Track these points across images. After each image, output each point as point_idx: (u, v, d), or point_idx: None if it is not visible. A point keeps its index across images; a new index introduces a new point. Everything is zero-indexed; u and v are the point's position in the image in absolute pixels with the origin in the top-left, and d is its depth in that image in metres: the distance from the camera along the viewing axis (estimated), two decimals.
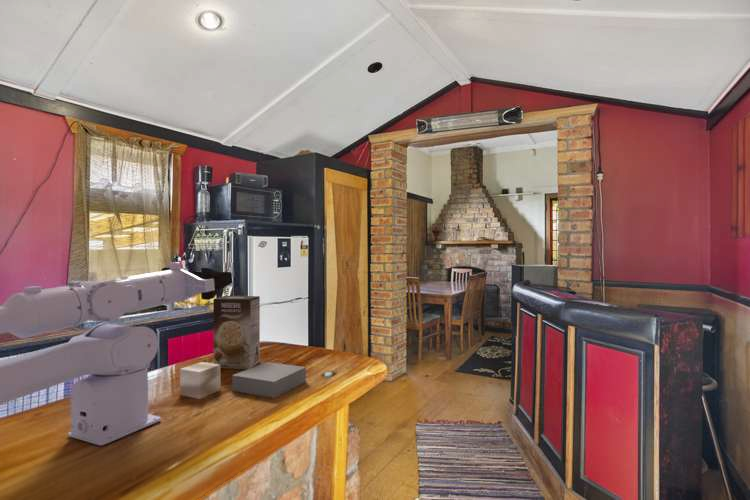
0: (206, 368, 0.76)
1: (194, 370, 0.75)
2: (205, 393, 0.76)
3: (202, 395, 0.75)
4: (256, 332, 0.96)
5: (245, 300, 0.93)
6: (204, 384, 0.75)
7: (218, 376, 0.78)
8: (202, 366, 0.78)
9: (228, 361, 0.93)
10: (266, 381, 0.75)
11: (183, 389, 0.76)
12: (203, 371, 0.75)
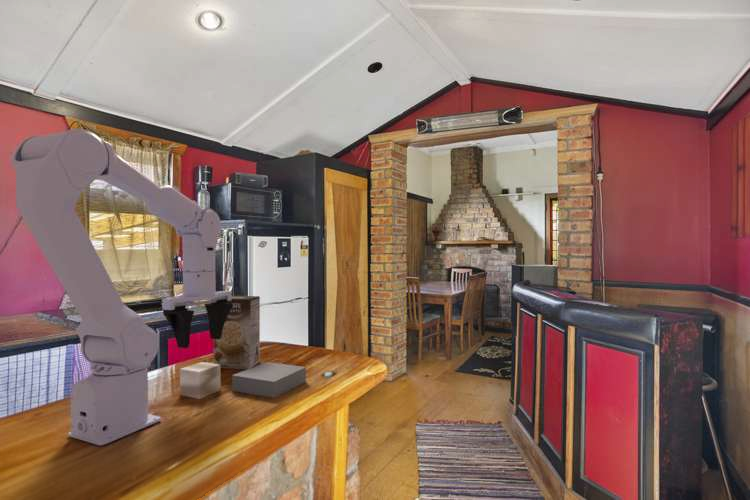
0: (206, 368, 0.76)
1: (194, 370, 0.75)
2: (205, 393, 0.76)
3: (202, 395, 0.75)
4: (256, 332, 0.96)
5: (245, 300, 0.93)
6: (204, 384, 0.75)
7: (218, 376, 0.78)
8: (202, 366, 0.78)
9: (228, 361, 0.93)
10: (266, 381, 0.75)
11: (183, 389, 0.76)
12: (203, 371, 0.75)
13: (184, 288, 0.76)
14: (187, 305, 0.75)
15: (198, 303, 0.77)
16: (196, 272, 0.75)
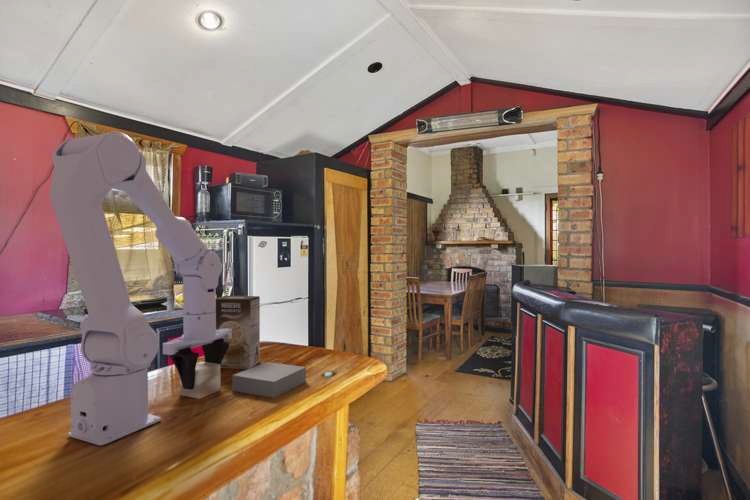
0: (206, 367, 0.76)
1: None
2: (205, 392, 0.76)
3: (202, 394, 0.75)
4: (256, 332, 0.96)
5: (245, 300, 0.93)
6: (204, 383, 0.75)
7: (218, 375, 0.78)
8: (202, 365, 0.78)
9: (228, 361, 0.93)
10: (266, 381, 0.75)
11: (183, 389, 0.76)
12: (203, 370, 0.75)
13: (185, 330, 0.76)
14: (188, 348, 0.75)
15: (199, 344, 0.77)
16: (197, 314, 0.75)
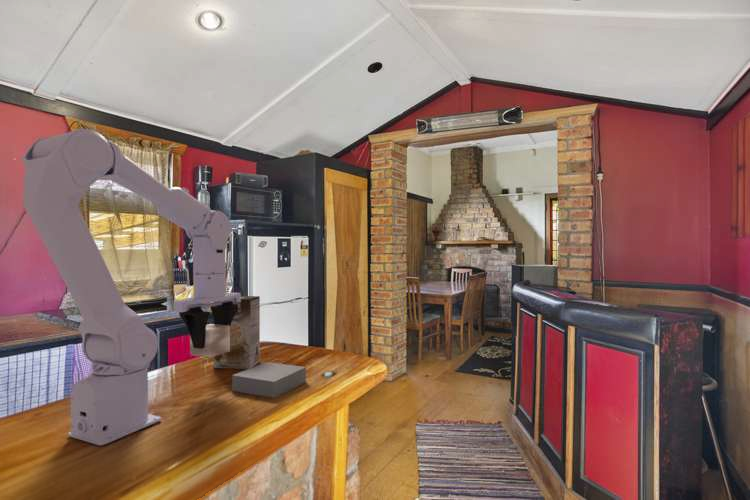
0: (216, 328, 0.77)
1: None
2: (215, 352, 0.76)
3: (212, 354, 0.75)
4: (256, 332, 0.96)
5: (245, 300, 0.93)
6: (214, 343, 0.76)
7: (228, 336, 0.79)
8: (212, 326, 0.78)
9: (228, 361, 0.93)
10: (266, 381, 0.75)
11: (193, 349, 0.77)
12: (213, 330, 0.76)
13: (195, 290, 0.76)
14: None
15: (208, 305, 0.78)
16: (207, 274, 0.75)
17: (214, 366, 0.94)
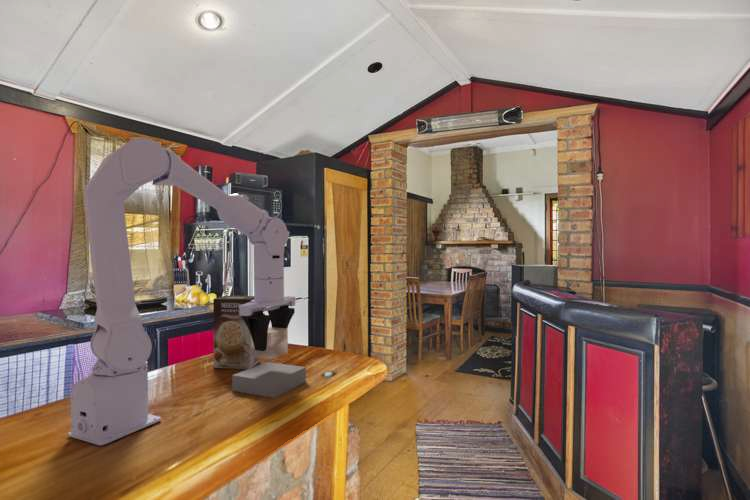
0: (276, 330, 0.80)
1: None
2: (276, 354, 0.79)
3: (273, 356, 0.78)
4: None
5: (245, 300, 0.93)
6: (275, 345, 0.79)
7: (286, 339, 0.82)
8: (271, 329, 0.81)
9: (228, 361, 0.93)
10: (266, 381, 0.75)
11: (254, 351, 0.79)
12: (274, 333, 0.78)
13: (256, 294, 0.79)
14: (260, 311, 0.78)
15: (268, 309, 0.80)
16: (268, 279, 0.78)
17: (214, 366, 0.94)
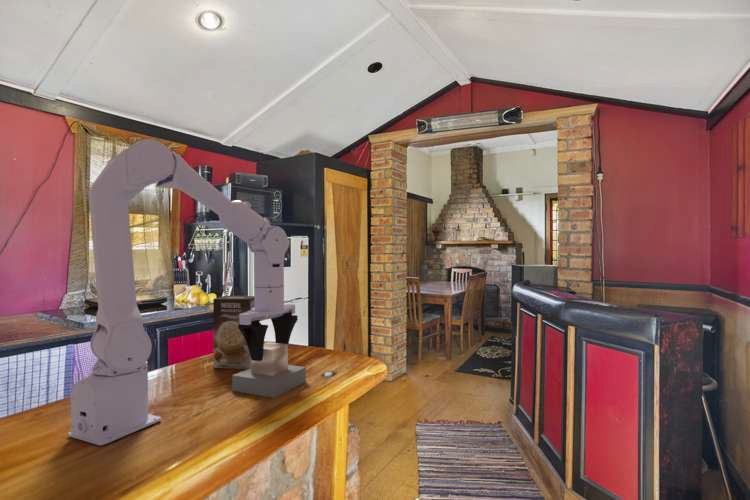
0: (276, 347, 0.80)
1: (266, 348, 0.78)
2: (276, 370, 0.79)
3: (274, 372, 0.78)
4: None
5: (245, 300, 0.93)
6: (275, 362, 0.79)
7: (286, 355, 0.82)
8: (271, 345, 0.81)
9: (228, 361, 0.93)
10: (266, 381, 0.75)
11: (254, 367, 0.79)
12: (274, 349, 0.78)
13: (256, 303, 0.79)
14: (260, 319, 0.78)
15: (268, 317, 0.80)
16: (268, 288, 0.78)
17: (214, 366, 0.94)
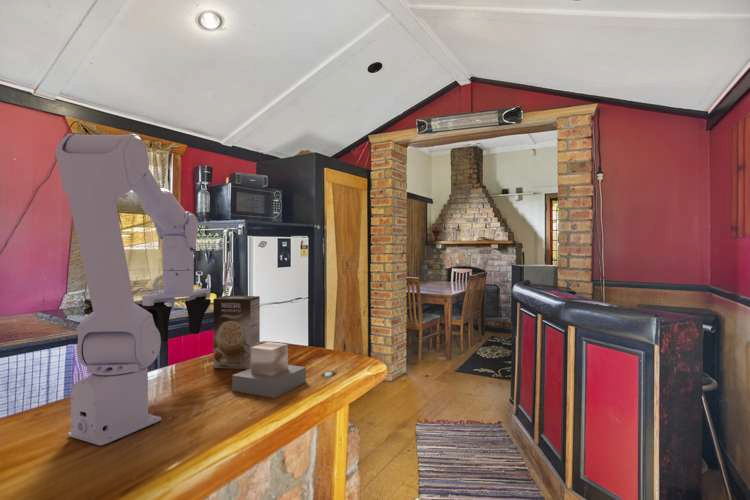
0: (276, 347, 0.80)
1: (266, 348, 0.78)
2: (276, 370, 0.79)
3: (274, 372, 0.78)
4: (256, 332, 0.96)
5: (245, 300, 0.93)
6: (275, 362, 0.79)
7: (286, 355, 0.82)
8: (271, 345, 0.81)
9: (228, 361, 0.93)
10: (266, 381, 0.75)
11: (254, 367, 0.79)
12: (274, 349, 0.78)
13: (163, 286, 0.81)
14: (166, 301, 0.80)
15: (177, 300, 0.83)
16: (174, 271, 0.80)
17: (214, 366, 0.94)
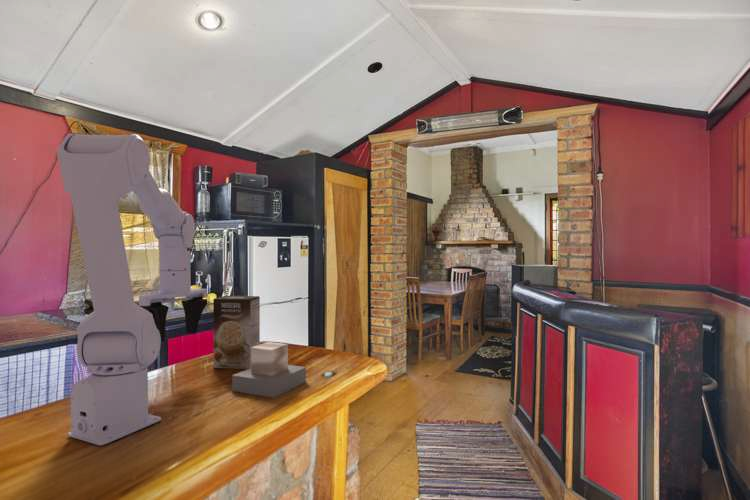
0: (276, 347, 0.80)
1: (266, 348, 0.78)
2: (276, 370, 0.79)
3: (274, 372, 0.78)
4: (256, 332, 0.96)
5: (245, 300, 0.93)
6: (275, 362, 0.79)
7: (286, 355, 0.82)
8: (271, 345, 0.81)
9: (228, 361, 0.93)
10: (266, 381, 0.75)
11: (254, 367, 0.79)
12: (274, 349, 0.78)
13: (160, 286, 0.81)
14: (163, 302, 0.80)
15: (174, 300, 0.83)
16: (171, 271, 0.80)
17: (214, 366, 0.94)
